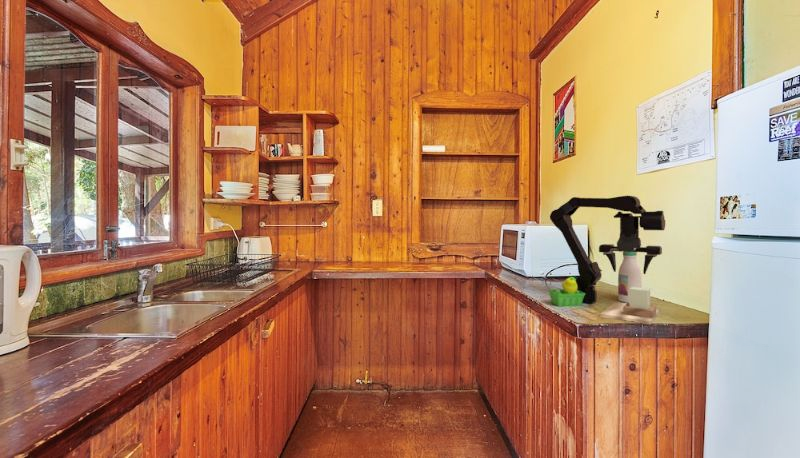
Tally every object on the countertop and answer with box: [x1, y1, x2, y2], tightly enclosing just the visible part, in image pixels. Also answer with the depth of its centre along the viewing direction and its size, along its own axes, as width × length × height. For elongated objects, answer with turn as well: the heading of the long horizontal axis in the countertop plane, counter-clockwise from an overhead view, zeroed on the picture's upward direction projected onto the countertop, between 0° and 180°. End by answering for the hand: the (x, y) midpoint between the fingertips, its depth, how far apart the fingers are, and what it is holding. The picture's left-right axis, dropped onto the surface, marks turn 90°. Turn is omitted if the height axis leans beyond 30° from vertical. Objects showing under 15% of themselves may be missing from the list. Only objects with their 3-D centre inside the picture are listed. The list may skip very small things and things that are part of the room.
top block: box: [629, 287, 651, 309], centre depth 118 cm, size 5×5×6 cm
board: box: [599, 301, 662, 325], centre depth 122 cm, size 14×22×1 cm, turn 137°
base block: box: [623, 303, 657, 319], centre depth 118 cm, size 8×8×2 cm
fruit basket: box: [547, 276, 585, 307], centre depth 135 cm, size 11×9×11 cm
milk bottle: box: [617, 251, 643, 303], centre depth 139 cm, size 8×8×20 cm
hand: (629, 272), depth 129 cm, fingers open, 9 cm apart
